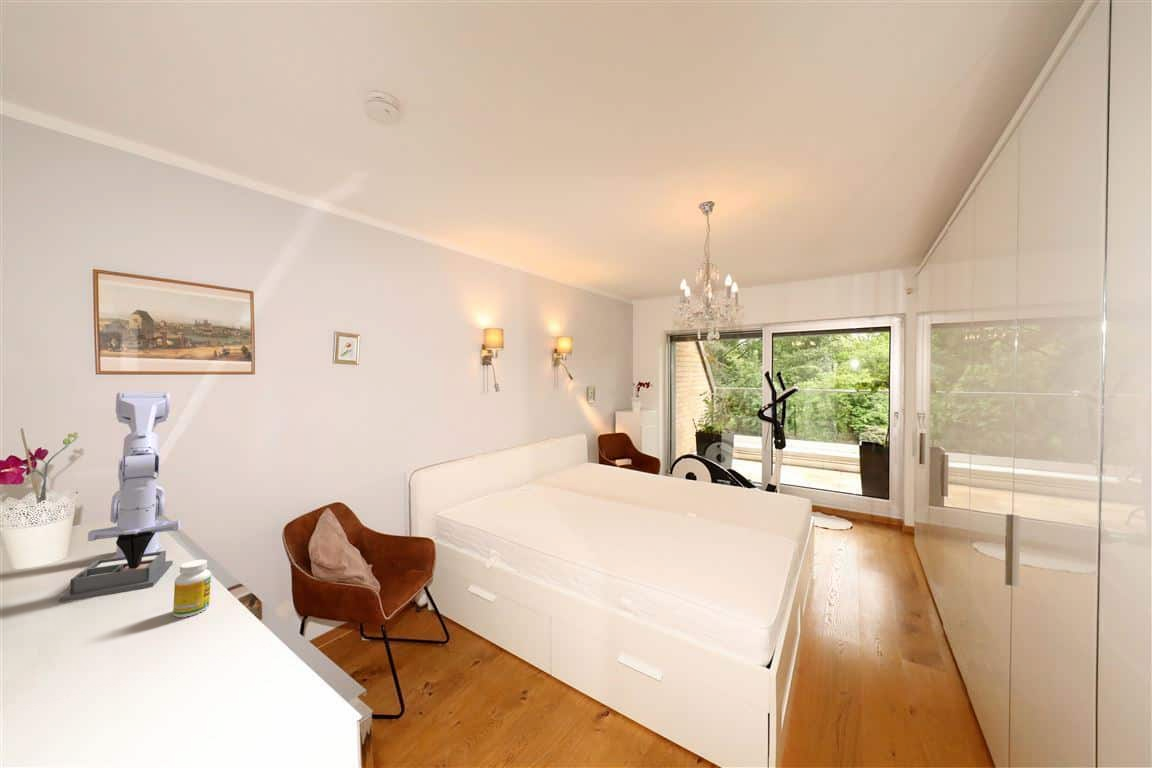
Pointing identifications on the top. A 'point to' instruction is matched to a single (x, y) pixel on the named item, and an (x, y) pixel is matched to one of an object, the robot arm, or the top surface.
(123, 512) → the robot arm
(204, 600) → the supplement bottle
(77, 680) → the top surface
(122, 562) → the space bar
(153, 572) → the grey compartment tray
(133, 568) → the terracotta key
